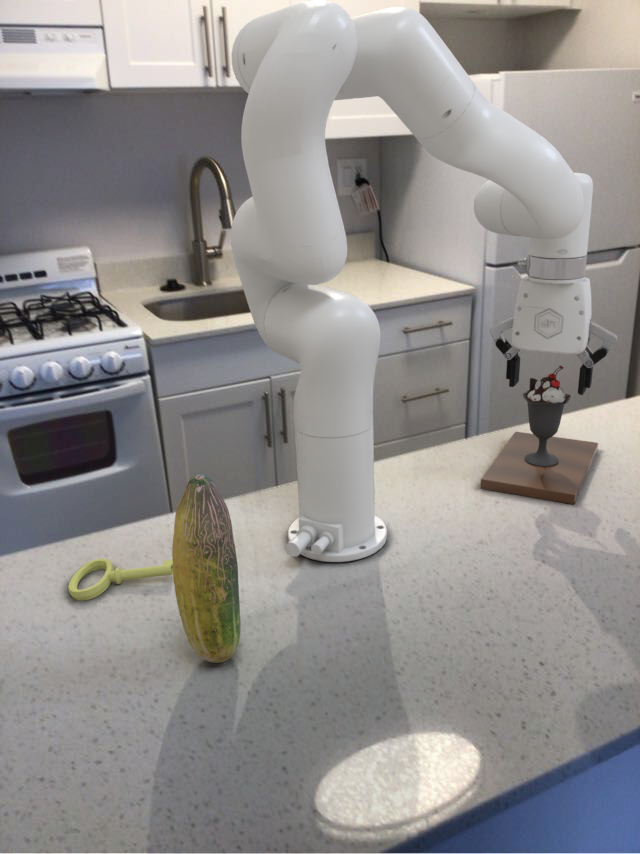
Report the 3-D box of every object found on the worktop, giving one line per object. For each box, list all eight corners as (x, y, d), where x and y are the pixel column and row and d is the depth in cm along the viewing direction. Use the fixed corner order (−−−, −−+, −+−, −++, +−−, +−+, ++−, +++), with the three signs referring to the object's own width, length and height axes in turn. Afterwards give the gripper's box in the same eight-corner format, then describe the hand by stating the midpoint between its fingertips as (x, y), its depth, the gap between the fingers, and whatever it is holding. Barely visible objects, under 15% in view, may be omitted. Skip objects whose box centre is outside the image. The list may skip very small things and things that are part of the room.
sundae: (567, 470, 109) (576, 370, 104) (519, 467, 111) (525, 369, 105) (563, 452, 115) (571, 357, 110) (517, 450, 117) (523, 356, 111)
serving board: (574, 504, 103) (575, 494, 102) (480, 488, 108) (480, 478, 108) (597, 451, 119) (598, 442, 118) (514, 439, 125) (515, 431, 124)
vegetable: (174, 672, 73) (150, 485, 66) (195, 633, 79) (174, 457, 72) (234, 677, 72) (216, 488, 65) (251, 637, 78) (236, 459, 71)
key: (179, 582, 88) (177, 566, 87) (69, 605, 85) (66, 588, 84) (170, 553, 95) (169, 538, 94) (68, 573, 91) (65, 557, 90)
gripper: (486, 270, 104) (481, 388, 110) (620, 276, 96) (606, 403, 102) (500, 261, 110) (494, 374, 116) (627, 267, 102) (614, 387, 108)
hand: (547, 388), depth 109 cm, fingers open, 9 cm apart
